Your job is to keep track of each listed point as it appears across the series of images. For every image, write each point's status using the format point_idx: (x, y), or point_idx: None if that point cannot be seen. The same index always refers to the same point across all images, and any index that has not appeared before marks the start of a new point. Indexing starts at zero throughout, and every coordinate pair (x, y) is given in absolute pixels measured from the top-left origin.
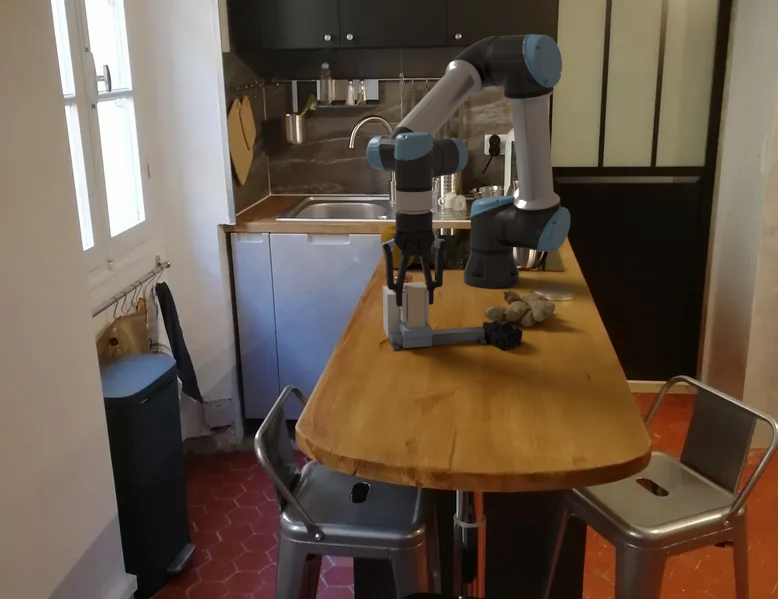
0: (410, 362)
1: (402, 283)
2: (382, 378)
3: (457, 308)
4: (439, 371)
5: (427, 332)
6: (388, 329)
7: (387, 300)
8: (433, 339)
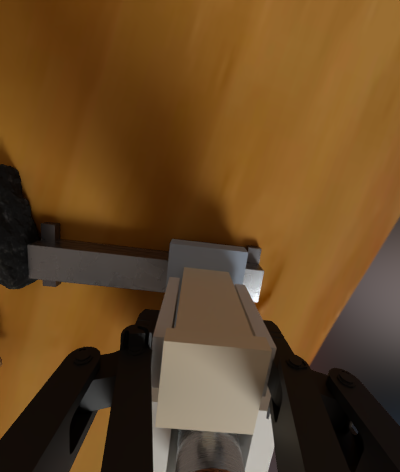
0: (249, 163)
1: (294, 390)
2: (344, 81)
3: None
4: (205, 82)
5: (183, 243)
6: None
7: None
8: (164, 255)
